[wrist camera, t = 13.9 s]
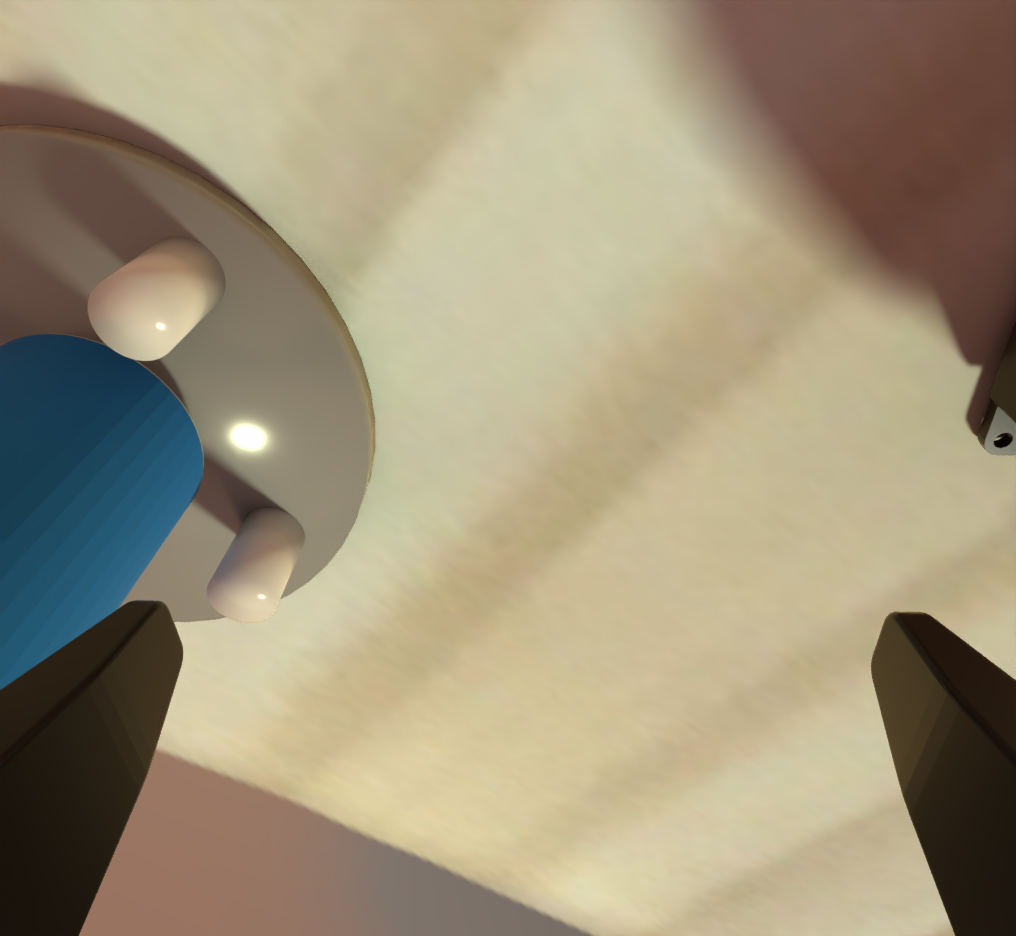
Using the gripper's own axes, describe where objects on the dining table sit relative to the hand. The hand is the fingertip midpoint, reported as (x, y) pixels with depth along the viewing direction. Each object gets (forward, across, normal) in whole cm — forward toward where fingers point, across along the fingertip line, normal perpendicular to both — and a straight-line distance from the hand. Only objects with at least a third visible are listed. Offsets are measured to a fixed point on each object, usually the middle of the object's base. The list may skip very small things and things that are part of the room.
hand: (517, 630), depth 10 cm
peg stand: (+13, +13, +4) cm, 19 cm away
